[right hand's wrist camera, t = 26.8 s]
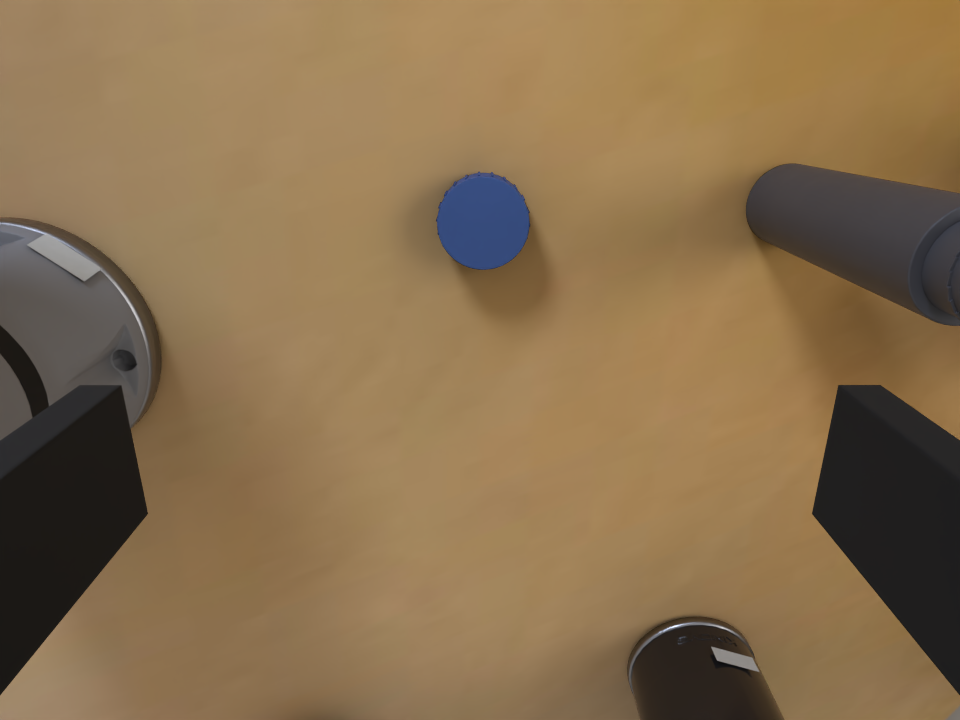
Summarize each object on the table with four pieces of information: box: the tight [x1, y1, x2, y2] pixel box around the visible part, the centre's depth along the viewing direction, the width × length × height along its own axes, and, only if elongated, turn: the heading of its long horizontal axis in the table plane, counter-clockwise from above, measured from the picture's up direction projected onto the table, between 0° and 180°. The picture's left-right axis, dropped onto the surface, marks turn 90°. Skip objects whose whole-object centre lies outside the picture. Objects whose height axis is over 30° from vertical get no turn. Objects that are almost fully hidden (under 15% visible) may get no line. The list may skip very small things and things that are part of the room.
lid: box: [436, 172, 530, 270], centre depth 38 cm, size 5×5×2 cm
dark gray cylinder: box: [746, 164, 960, 326], centre depth 30 cm, size 5×5×18 cm
